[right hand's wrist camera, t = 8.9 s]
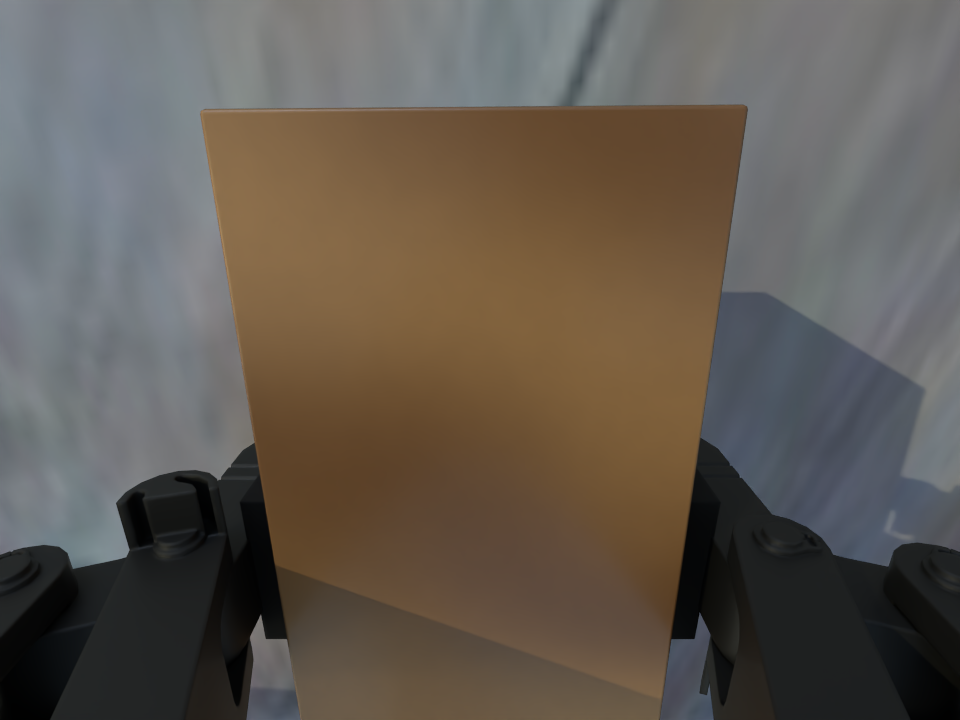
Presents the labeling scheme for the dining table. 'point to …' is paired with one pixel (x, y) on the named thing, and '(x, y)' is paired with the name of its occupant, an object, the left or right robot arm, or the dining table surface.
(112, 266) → the dining table surface
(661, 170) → the bar
